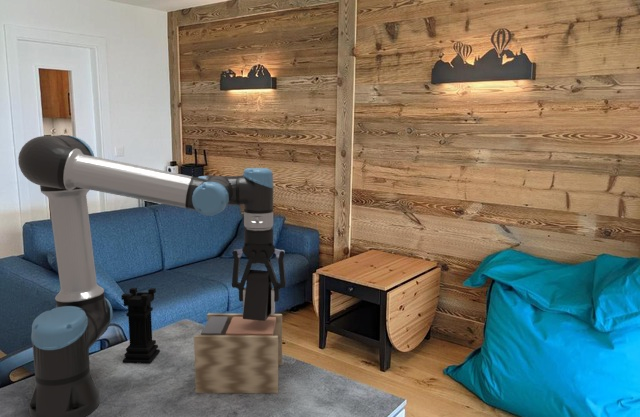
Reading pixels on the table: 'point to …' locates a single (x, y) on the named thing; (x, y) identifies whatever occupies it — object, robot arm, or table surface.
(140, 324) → the chess piece
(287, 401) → the table surface
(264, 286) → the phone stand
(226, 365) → the frame
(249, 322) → the trapdoor
